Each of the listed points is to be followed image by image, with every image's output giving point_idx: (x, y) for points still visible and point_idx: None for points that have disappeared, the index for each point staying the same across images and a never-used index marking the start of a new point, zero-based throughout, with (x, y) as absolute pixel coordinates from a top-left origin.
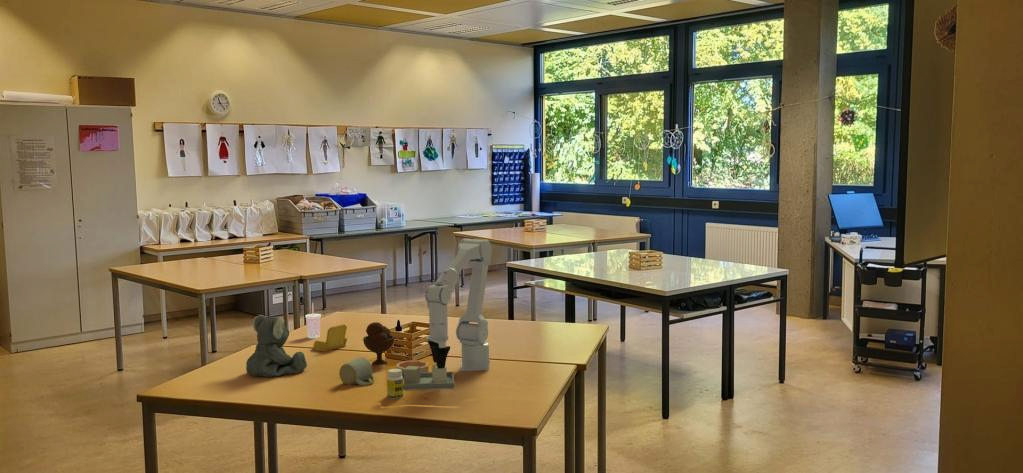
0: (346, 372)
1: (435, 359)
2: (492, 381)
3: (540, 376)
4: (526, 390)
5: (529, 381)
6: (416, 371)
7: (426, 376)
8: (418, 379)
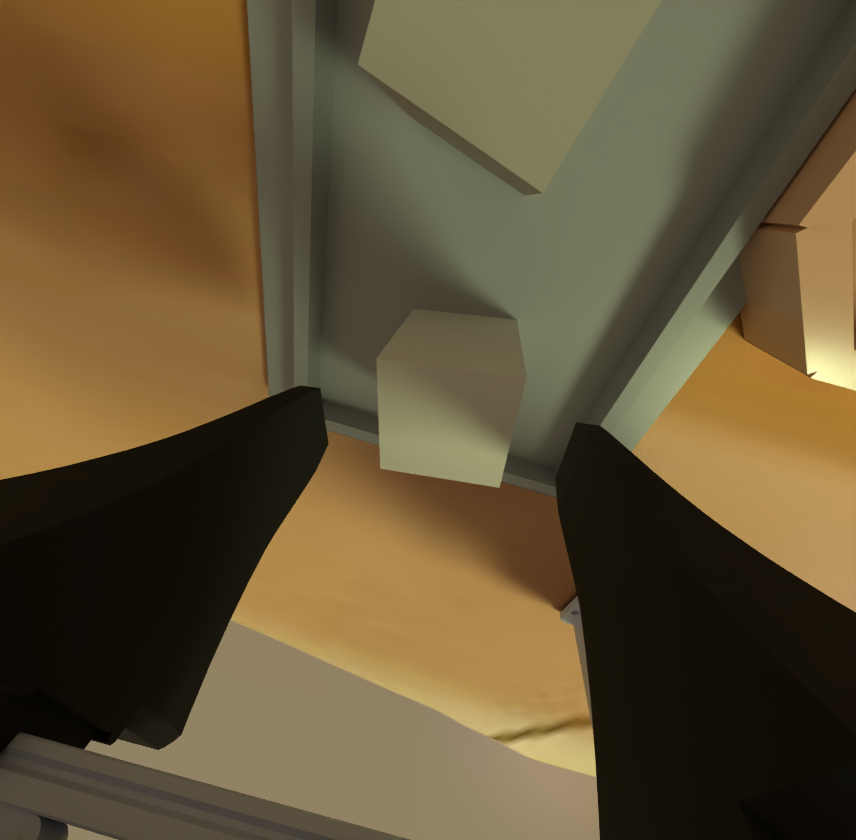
0: None
1: (579, 460)
2: (396, 566)
3: (408, 664)
4: (262, 591)
5: (361, 631)
6: (377, 81)
7: (659, 300)
8: (471, 156)
